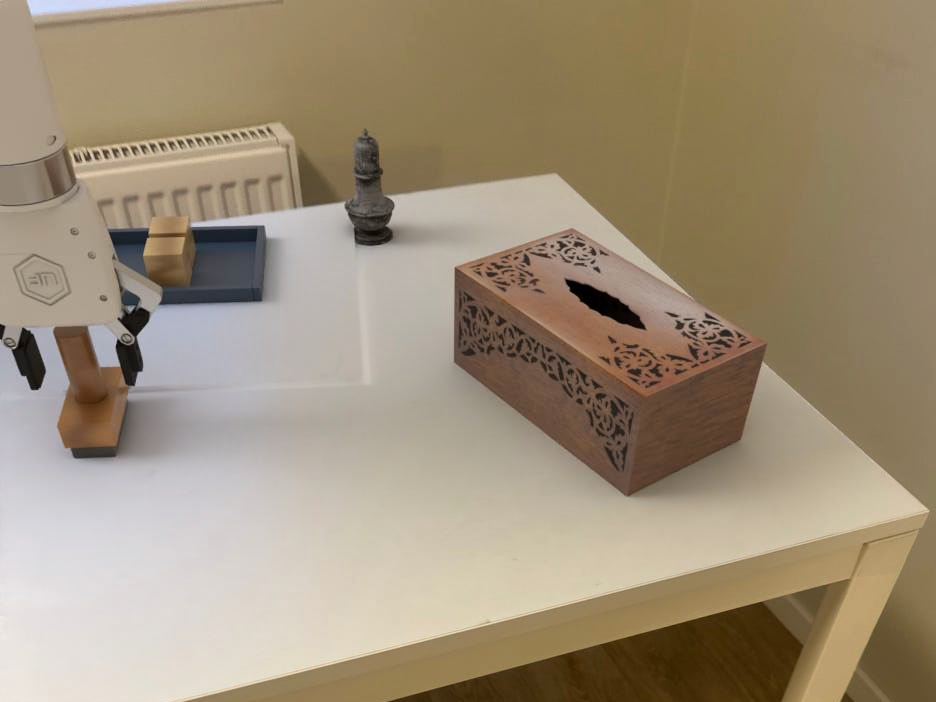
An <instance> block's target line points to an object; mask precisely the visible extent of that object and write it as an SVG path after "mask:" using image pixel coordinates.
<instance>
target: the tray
mask: <svg viewBox="0 0 936 702" xmlns="http://www.w3.org/2000/svg"><path fill="white" fill-rule="evenodd" d="M191 227H192V232H193V238H194V243H195V248H196V253H195V259H194V265H193V267H191V268H192V276H191V282H190V287H162V289H163V294H162V299H161V302H160V303H159V305H158V306H161V305H162V306H163V305H188V304H189V305H190V304H192V305H193V304H223V303H224V304H225V303H253V302H255V303H256V302H258V303H259V302H263V290H264V278H265V277H264V275H265V263H266V251H267V250H266V249H267V231H266V226H265V225H264V224H263V225H261V224H260V225H258V224H255V225H253V224H252V225H250V224H249V225H215V226H213V225H212V226H211V225H210V226H191ZM107 230H108V232H109V235H110V238H111V241H112V243H113V246H114V249H115V252H116V255H117V258H118V261H119V262H120V263H122V264H124V265H125V266H127V267H129V268H130V269H132V270H134V271H135V272H137V273H139V274H140V275H142V276H144V277H146V278H147V279H148V275H147V271H146V266H145V262H144V258H143V253H144V249H145V245H146V241H147V238H149V230H150V227H131V228H128V227H127V228H126V227H125V228H107ZM140 300H141V299H140V298H139V297H138V296H137V295H135V294H133V293H131V292H130V291H128V290H126V289H125V293H124V295H123V296H122V297H121V302H122V303H123V304H124V306H125V307H127V306H128V307H129V306H136V305H137V304H138V303H139V302H140Z"/></svg>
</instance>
